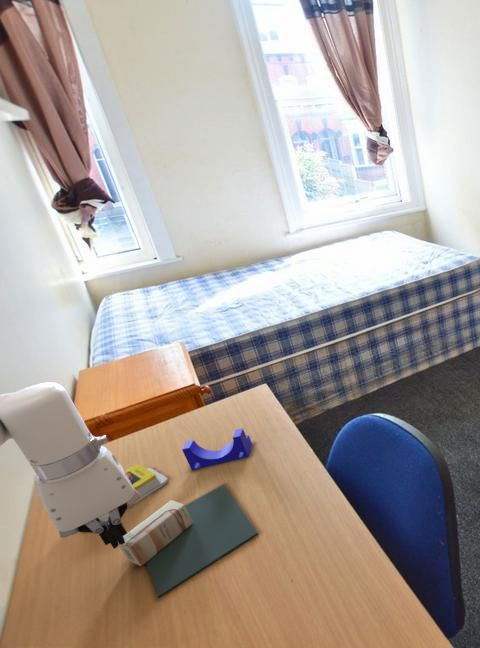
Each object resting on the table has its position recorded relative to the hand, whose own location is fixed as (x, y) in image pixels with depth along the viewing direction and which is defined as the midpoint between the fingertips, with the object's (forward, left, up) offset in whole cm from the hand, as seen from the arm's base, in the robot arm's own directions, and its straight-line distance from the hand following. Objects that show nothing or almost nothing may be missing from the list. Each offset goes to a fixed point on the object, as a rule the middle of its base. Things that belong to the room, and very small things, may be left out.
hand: (118, 541), depth 81 cm
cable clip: (+21, +21, -7) cm, 30 cm away
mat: (+10, 0, -7) cm, 12 cm away
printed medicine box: (0, +1, -5) cm, 5 cm away
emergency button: (+2, +25, -7) cm, 26 cm away
